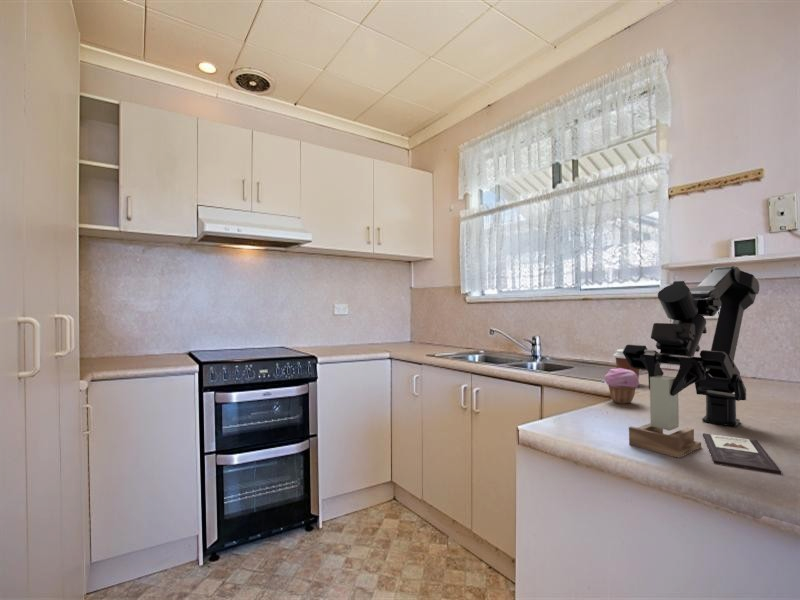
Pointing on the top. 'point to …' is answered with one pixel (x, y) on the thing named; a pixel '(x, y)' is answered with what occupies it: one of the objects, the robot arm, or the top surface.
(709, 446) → the chocolate bar
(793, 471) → the top surface
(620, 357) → the coffee cup
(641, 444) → the tray
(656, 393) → the pale green rectangular block
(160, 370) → the top surface
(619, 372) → the cupcake
